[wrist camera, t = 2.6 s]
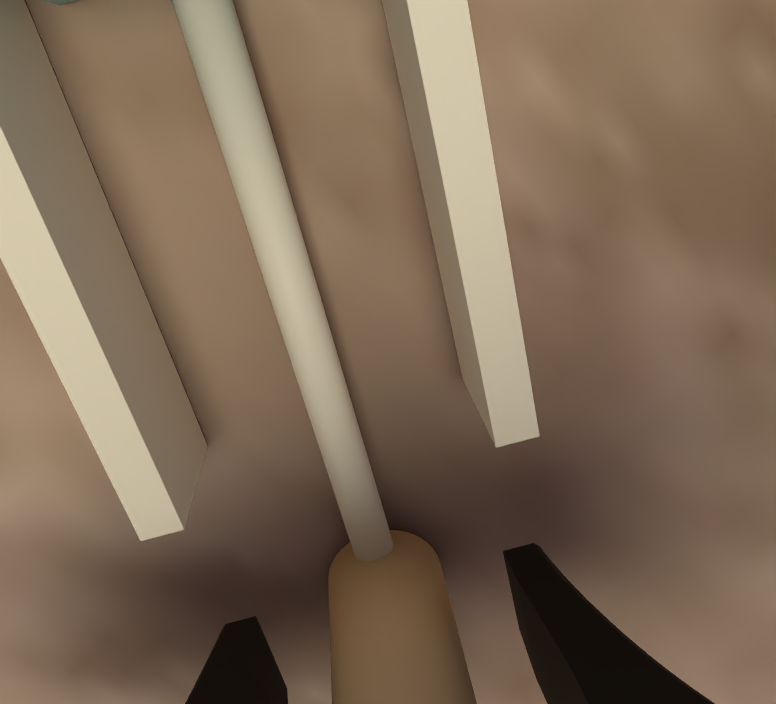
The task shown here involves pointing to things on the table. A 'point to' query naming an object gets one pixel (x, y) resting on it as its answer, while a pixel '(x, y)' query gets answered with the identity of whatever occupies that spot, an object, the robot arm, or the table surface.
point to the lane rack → (130, 305)
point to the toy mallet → (328, 410)
